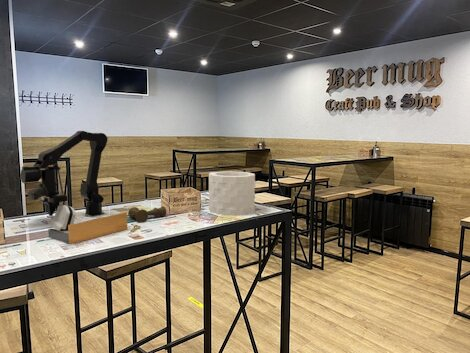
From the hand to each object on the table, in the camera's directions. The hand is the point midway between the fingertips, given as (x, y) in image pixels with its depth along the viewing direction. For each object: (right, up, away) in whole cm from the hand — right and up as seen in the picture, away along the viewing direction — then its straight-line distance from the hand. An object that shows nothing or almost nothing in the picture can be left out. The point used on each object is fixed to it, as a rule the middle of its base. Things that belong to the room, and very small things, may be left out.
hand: (50, 215), depth 159 cm
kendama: (+40, -3, +8) cm, 41 cm away
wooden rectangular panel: (+23, -5, -15) cm, 28 cm away
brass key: (+40, -5, -11) cm, 42 cm away
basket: (+79, 0, +28) cm, 84 cm away
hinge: (+8, -4, -6) cm, 11 cm away
